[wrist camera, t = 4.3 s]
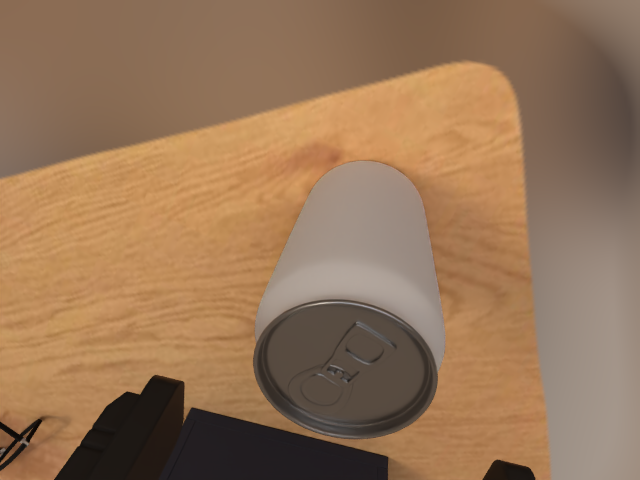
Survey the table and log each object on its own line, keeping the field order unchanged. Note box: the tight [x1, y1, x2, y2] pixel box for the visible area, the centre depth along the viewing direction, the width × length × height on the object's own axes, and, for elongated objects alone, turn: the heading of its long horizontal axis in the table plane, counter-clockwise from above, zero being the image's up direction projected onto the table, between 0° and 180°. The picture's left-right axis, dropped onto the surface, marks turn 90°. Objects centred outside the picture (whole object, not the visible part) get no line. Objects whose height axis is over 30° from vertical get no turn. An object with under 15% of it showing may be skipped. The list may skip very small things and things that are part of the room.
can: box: [253, 161, 445, 439], centre depth 18 cm, size 6×6×12 cm
